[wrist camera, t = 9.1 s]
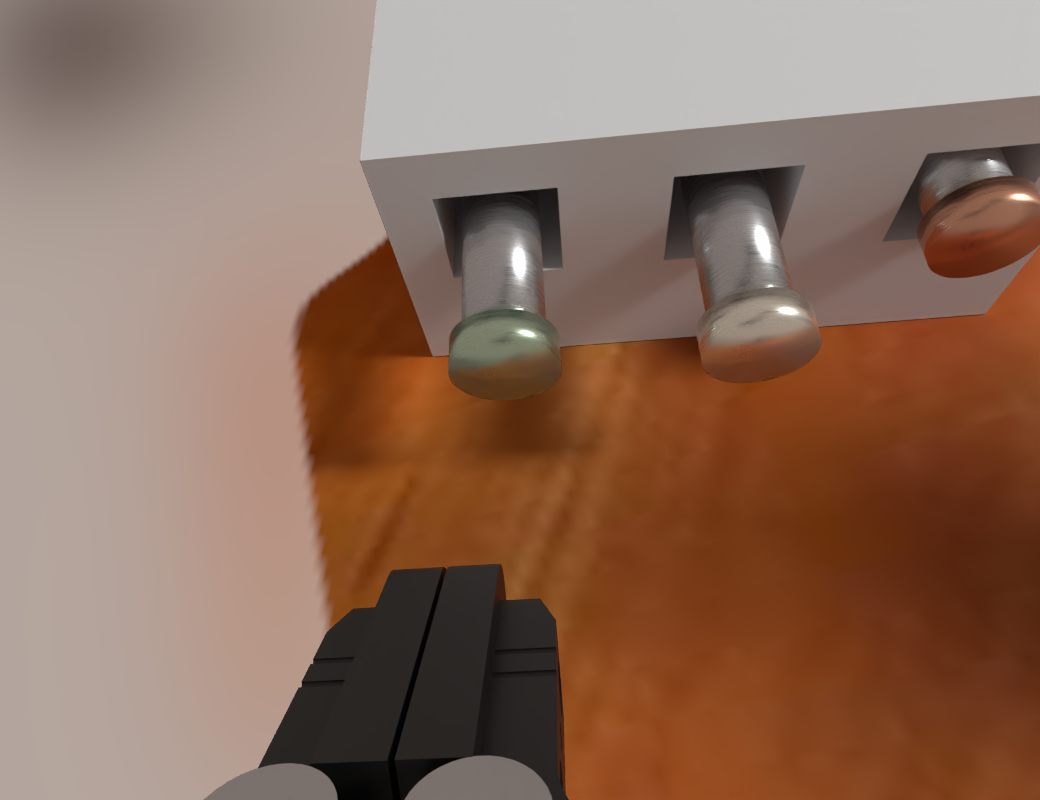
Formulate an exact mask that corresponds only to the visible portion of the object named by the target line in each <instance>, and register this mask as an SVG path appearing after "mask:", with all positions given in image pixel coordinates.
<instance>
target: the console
mask: <svg viewBox="0 0 1040 800" xmlns="http://www.w3.org/2000/svg"><path fill="white" fill-rule="evenodd" d="M994 147H1000V149H1001V151H1002V153H1003V155H1004V157H1005V159H1006V161H1007V163H1008V165H1009V167H1010V169H1011V171H1012V173H1013V175H1014V176H1019V177H1023V178H1026V179H1029V180H1030V181H1032V182H1033V183H1034V184H1035V185H1036V187H1037V189H1038V191H1039V193H1040V0H377V4H376V13H375V23H374V32H373V41H372V51H371V61H370V70H369V80H368V88H367V98H366V108H365V117H364V127H363V135H362V145H361V154H360V163H361V165H362V168H363V171H364V173H365V176H366V179H367V181H368V184H369V187H370V189H371V192H372V195H373V198H374V200H375V203H376V205H377V208H378V211H379V214H380V216H381V219H382V222H383V224H384V227H385V230H386V232H387V235H388V238H389V240H390V243H391V246H392V248H393V251H394V254H395V257H396V259H397V262H398V265H399V267H400V270H401V273H402V275H403V278H404V281H405V283H406V286H407V289H408V291H409V294H410V297H411V299H412V302H413V305H414V307H415V310H416V313H417V316H418V318H419V321H420V324H421V326H422V329H423V332H424V334H425V337H426V340H427V342H428V345H429V348H430V350H431V353H432V356H433V357H434V356H447V355H449V337H450V333H451V331H452V330H453V328H454V327H455V326H456V325H457V324H458V323H459V322H461V321H462V228H463V196H472V195H483V194H493V193H504V192H515V191H526V190H537V189H538V193H539V210H540V227H541V244H542V261H543V278H544V294H545V311H546V319H547V320H548V321H550V322H551V323H552V324H553V325H554V326H555V328H556V329H557V331H558V333H559V339H560V347H564V346H577V345H590V344H602V343H615V342H628V341H641V340H654V339H667V338H680V337H693V336H697V334H696V326H697V323H698V321H699V319H700V318H701V316H702V315H703V314H704V313H705V309H704V303H703V298H702V293H701V287H700V282H699V277H698V272H697V266H696V261H695V256H694V251H693V245H692V240H691V235H690V230H689V224H688V219H687V214H686V209H685V203H684V198H683V193H682V187H681V182H680V177H679V176H689V175H700V174H711V173H722V172H733V171H744V170H754V169H761V170H762V174H763V177H764V181H765V185H766V188H767V192H768V196H769V200H770V203H771V207H772V211H773V215H774V218H775V222H776V226H777V230H778V233H779V237H780V241H781V245H782V248H783V252H784V256H785V260H786V263H787V267H788V271H789V275H790V278H791V282H792V286H793V289H794V290H795V291H798V292H800V293H802V294H803V295H805V296H806V297H807V298H808V299H809V300H810V302H811V304H812V307H813V310H814V314H815V317H816V321H817V324H818V327H822V326H835V325H848V324H861V323H874V322H887V321H900V320H913V319H926V318H939V317H952V316H965V315H978V314H986V312H987V311H988V310H989V309H990V307H991V306H992V305H993V304H994V302H995V301H996V300H997V299H998V297H999V296H1000V295H1001V294H1002V292H1003V291H1004V290H1005V289H1006V287H1007V286H1008V285H1009V284H1010V282H1011V281H1012V280H1013V279H1014V277H1015V276H1016V275H1017V274H1018V272H1019V271H1020V270H1021V269H1022V267H1023V266H1024V265H1025V264H1026V262H1027V261H1028V260H1029V259H1030V257H1031V256H1032V255H1033V254H1034V252H1035V251H1036V250H1037V249H1038V247H1039V246H1040V245H1039V246H1038V247H1037V248H1036V249H1034V250H1033V251H1032V252H1030V253H1029V254H1028V255H1026V256H1025V257H1023V258H1021V259H1020V260H1018V261H1016V262H1014V263H1012V264H1010V265H1008V266H1006V267H1004V268H1001V269H999V270H996V271H993V272H990V273H987V274H983V275H979V276H974V277H968V278H947V277H943V276H939V275H937V274H935V273H934V272H932V271H931V270H930V268H929V266H928V264H927V262H926V259H925V257H924V254H923V251H922V249H921V246H920V244H919V241H918V238H917V228H918V225H919V223H920V220H921V219H922V217H923V215H922V212H921V210H920V207H919V205H918V202H917V200H916V197H915V195H914V192H913V190H912V187H911V185H912V183H913V181H914V179H915V177H916V175H917V173H918V171H919V169H920V167H921V165H922V163H923V161H924V159H925V157H926V155H927V154H928V153H939V152H950V151H961V150H972V149H983V148H994Z"/></svg>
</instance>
